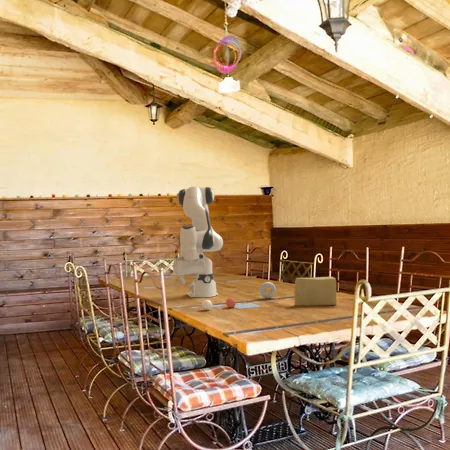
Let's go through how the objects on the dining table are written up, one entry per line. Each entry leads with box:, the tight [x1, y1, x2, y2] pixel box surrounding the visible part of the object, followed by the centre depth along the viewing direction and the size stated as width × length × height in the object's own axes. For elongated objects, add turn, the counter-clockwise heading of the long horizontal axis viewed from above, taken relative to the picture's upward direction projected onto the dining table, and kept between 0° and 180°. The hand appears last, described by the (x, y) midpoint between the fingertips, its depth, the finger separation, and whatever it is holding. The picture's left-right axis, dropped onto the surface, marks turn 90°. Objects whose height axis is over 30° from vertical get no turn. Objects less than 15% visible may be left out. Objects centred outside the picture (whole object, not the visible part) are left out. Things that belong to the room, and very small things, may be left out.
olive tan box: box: [293, 276, 337, 306], centre depth 280 cm, size 22×10×15 cm, turn 92°
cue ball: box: [201, 299, 213, 311], centre depth 272 cm, size 6×6×6 cm
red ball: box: [225, 297, 237, 309], centre depth 278 cm, size 6×6×6 cm
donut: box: [259, 281, 277, 299], centre depth 306 cm, size 10×4×10 cm, turn 90°
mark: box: [233, 302, 263, 310], centre depth 281 cm, size 14×14×1 cm
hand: (189, 282), depth 268 cm, fingers open, 7 cm apart
